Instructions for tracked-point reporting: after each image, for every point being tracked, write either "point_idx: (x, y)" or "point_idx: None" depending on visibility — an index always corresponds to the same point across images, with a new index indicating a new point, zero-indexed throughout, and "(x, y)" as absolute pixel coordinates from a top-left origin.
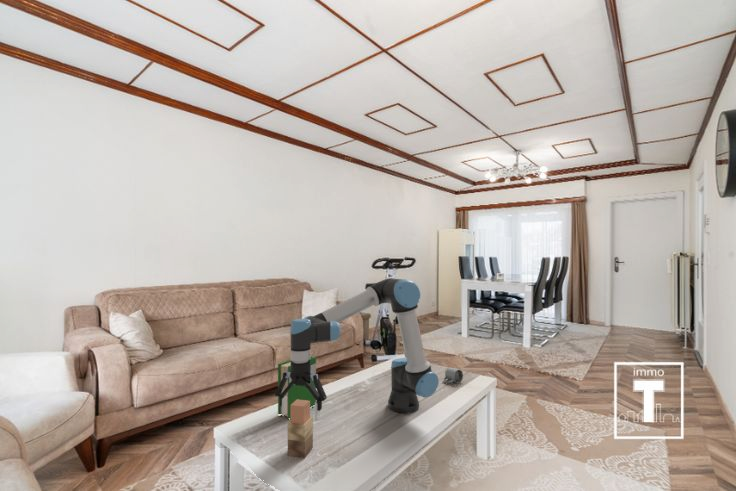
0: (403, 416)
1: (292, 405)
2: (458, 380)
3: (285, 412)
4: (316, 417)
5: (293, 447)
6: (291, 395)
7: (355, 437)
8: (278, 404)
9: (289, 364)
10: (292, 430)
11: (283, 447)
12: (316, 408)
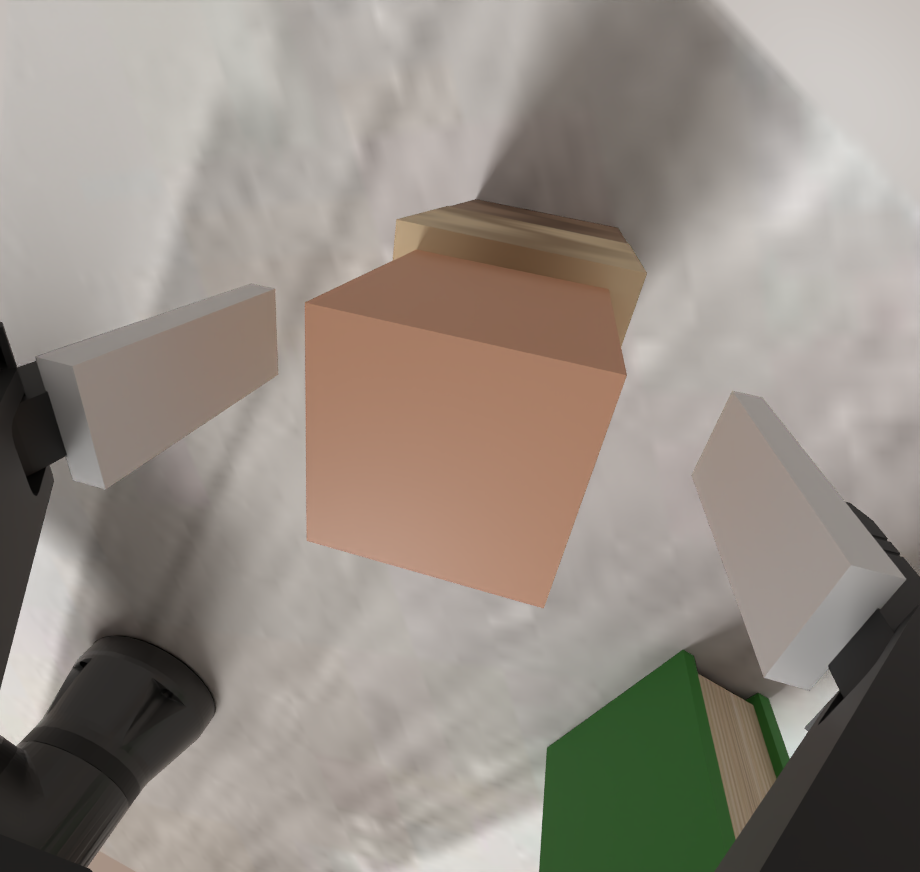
0: (120, 613)
1: (573, 363)
2: None
3: (716, 453)
4: (233, 292)
5: (566, 223)
6: (700, 828)
7: (249, 455)
8: None
9: None
10: (573, 246)
11: (671, 341)
12: (139, 327)
